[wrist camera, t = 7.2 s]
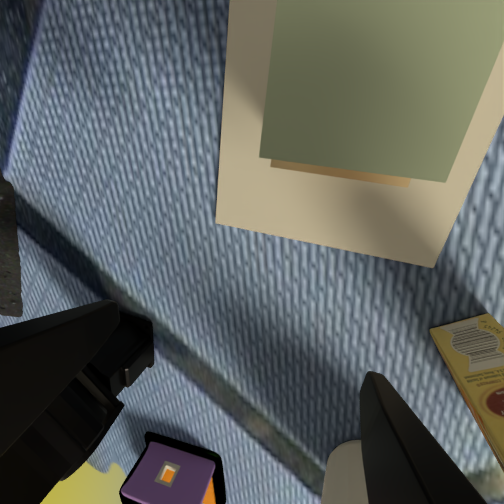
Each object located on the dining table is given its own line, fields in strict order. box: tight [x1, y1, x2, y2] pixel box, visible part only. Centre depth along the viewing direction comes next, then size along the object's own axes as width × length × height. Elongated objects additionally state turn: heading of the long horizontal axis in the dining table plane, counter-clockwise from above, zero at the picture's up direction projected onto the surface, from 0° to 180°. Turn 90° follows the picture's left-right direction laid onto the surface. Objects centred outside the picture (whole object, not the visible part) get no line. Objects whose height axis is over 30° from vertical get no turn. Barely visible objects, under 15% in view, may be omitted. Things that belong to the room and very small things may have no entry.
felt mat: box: [216, 0, 504, 268], centre depth 16 cm, size 16×16×1 cm
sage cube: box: [259, 0, 504, 183], centre depth 7 cm, size 4×4×4 cm
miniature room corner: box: [119, 432, 226, 504], centre depth 34 cm, size 12×12×7 cm
